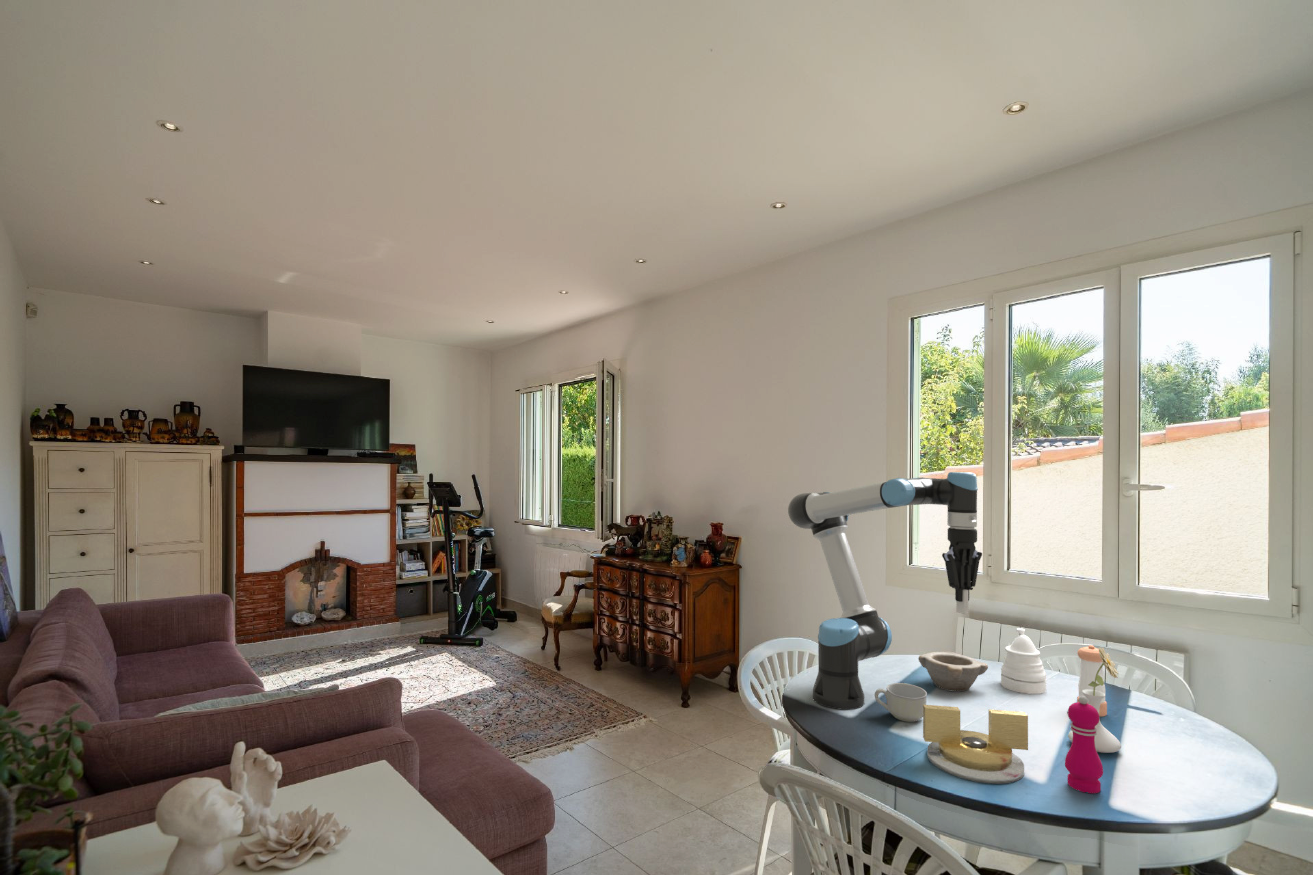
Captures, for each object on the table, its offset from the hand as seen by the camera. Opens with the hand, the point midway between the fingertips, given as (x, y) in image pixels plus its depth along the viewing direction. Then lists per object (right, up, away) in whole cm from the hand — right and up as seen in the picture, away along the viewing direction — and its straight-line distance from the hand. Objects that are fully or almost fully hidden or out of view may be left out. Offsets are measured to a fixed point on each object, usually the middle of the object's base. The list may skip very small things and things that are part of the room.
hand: (962, 612), depth 186 cm
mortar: (+10, -32, +29) cm, 44 cm away
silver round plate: (-8, -30, -25) cm, 39 cm away
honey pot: (+33, -32, +30) cm, 55 cm away
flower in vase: (+27, -31, -15) cm, 44 cm away
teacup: (-16, -31, +3) cm, 35 cm away
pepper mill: (+11, -30, -36) cm, 48 cm away
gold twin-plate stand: (-8, -28, -25) cm, 38 cm away
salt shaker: (+42, -32, +9) cm, 53 cm away
